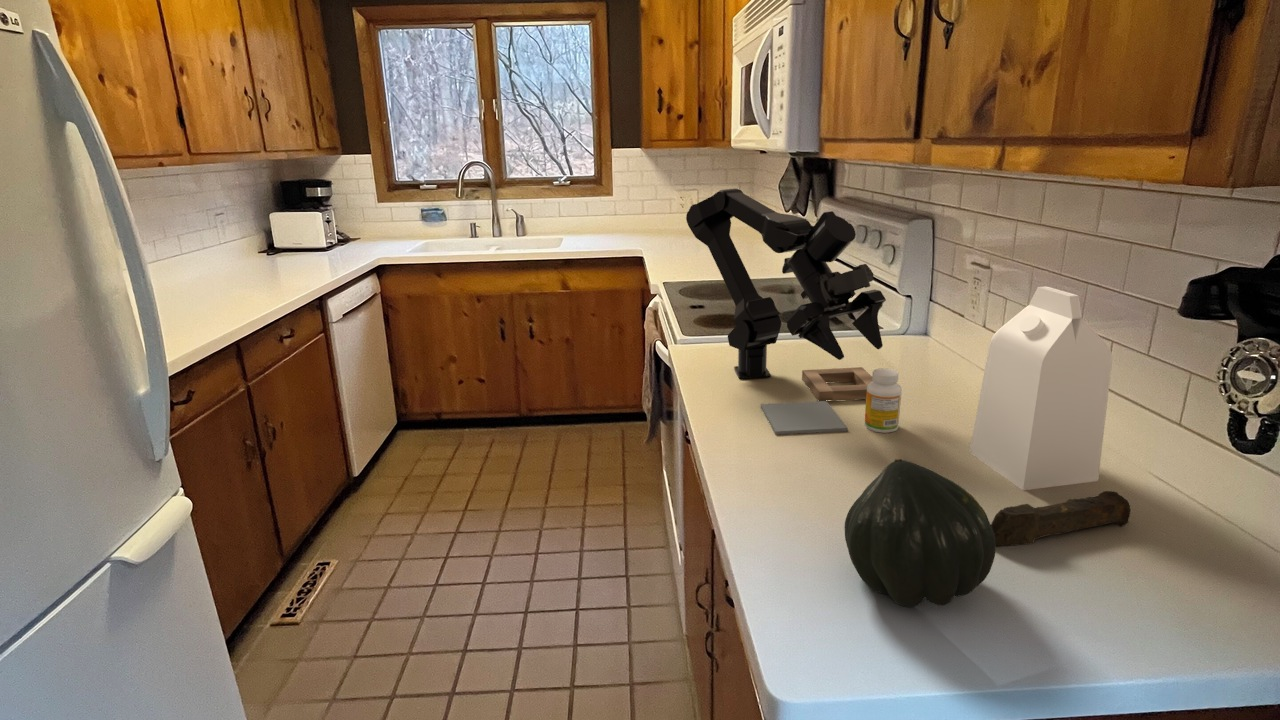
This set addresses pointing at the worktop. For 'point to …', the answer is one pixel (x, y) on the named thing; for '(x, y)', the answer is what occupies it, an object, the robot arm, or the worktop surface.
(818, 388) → the hole board
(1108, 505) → the hand tool
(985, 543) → the squash
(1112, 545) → the worktop surface
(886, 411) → the supplement bottle
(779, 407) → the slate mat
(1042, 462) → the milk
